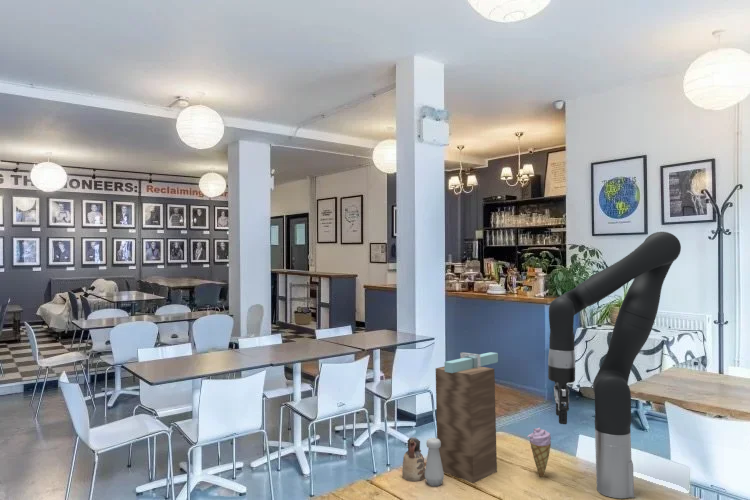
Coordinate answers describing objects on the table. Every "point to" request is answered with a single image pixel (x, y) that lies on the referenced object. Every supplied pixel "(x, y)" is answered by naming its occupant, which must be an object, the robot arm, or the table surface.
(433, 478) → the salt shaker
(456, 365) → the peg
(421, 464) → the figurine
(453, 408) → the plinth
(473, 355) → the arch
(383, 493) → the table surface
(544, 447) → the ice cream cone
